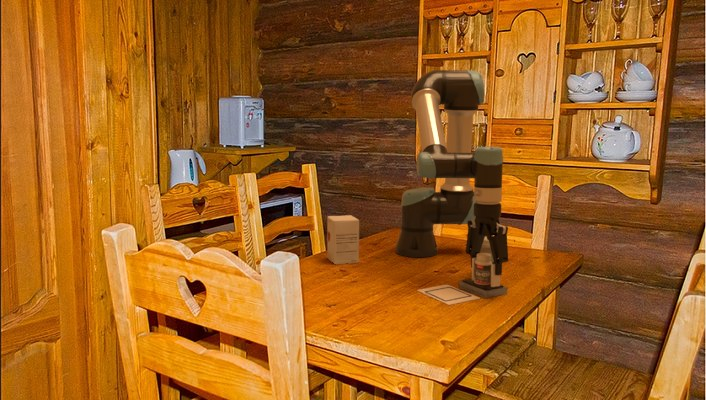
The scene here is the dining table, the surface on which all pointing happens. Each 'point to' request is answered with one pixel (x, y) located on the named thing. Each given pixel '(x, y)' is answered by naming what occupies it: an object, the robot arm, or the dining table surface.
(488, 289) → the ink pad
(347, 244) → the supplement box
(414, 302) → the dining table surface
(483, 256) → the pill bottle
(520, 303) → the dining table surface
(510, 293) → the dining table surface
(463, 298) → the print card
